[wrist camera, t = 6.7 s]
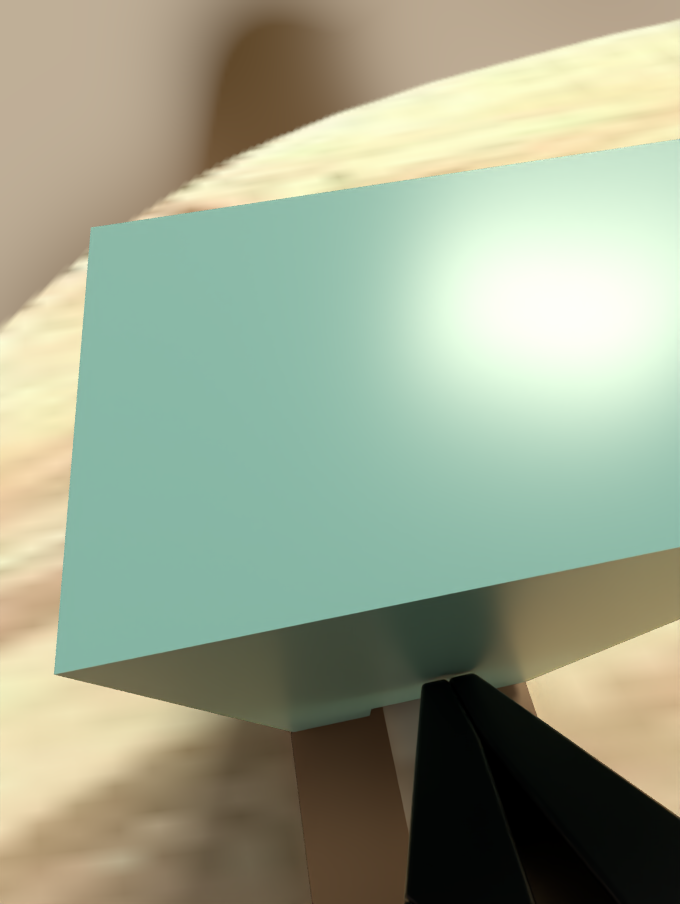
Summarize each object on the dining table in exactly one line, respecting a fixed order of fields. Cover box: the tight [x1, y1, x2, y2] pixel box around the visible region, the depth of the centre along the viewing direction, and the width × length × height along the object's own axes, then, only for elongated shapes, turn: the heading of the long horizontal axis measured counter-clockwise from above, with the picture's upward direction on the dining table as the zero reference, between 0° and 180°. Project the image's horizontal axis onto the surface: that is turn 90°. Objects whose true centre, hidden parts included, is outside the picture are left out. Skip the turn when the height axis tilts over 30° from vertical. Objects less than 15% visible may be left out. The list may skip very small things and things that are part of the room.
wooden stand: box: [291, 682, 537, 904], centre depth 12 cm, size 18×6×5 cm, turn 11°
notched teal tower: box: [54, 139, 680, 732], centre depth 9 cm, size 4×6×12 cm, turn 101°
